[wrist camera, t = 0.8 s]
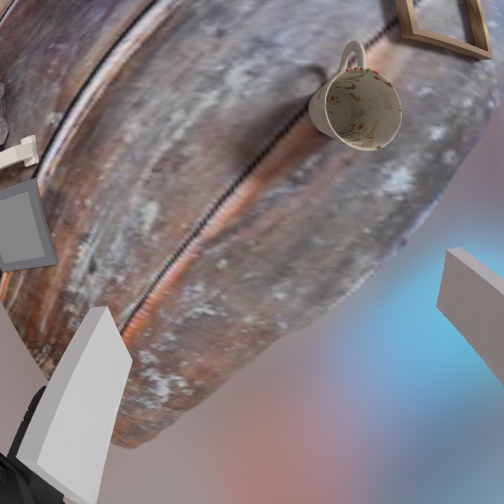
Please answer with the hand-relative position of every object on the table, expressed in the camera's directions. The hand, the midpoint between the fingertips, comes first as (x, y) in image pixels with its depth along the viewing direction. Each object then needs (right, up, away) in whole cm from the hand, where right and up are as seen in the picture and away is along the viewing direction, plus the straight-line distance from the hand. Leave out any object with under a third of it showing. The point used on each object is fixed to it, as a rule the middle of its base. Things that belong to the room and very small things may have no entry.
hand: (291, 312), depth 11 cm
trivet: (-37, +6, +25) cm, 45 cm away
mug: (+8, +21, +22) cm, 32 cm away
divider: (-38, +15, +21) cm, 46 cm away
